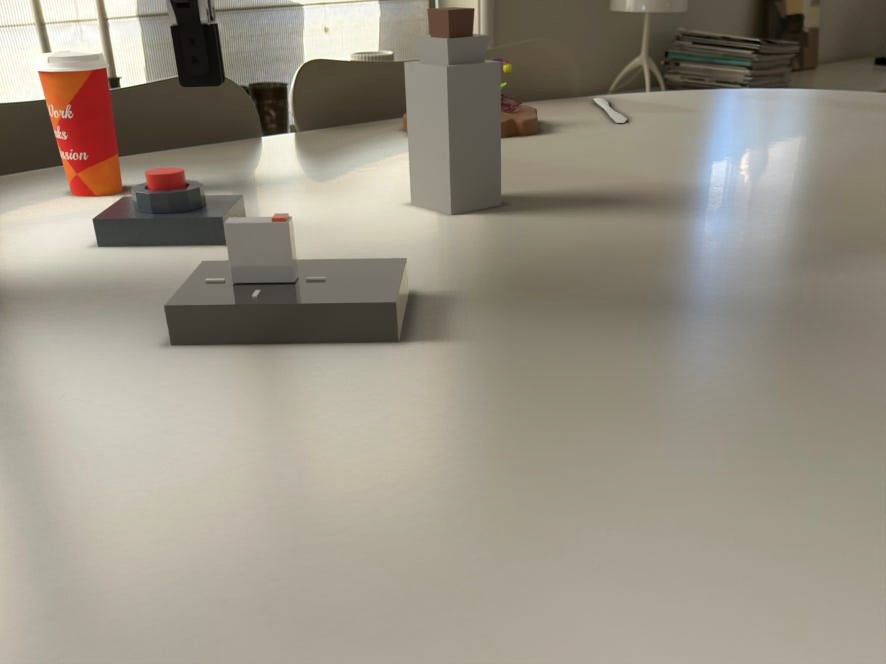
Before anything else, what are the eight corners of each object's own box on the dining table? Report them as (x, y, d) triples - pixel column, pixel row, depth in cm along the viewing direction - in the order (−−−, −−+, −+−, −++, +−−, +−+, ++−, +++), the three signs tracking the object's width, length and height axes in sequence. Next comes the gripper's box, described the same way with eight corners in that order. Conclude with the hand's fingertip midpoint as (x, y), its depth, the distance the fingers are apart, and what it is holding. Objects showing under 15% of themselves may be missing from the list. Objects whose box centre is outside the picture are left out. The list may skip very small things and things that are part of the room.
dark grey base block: (171, 348, 74) (163, 303, 73) (208, 299, 84) (201, 258, 83) (398, 345, 74) (395, 299, 72) (408, 296, 84) (406, 255, 82)
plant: (411, 120, 164) (407, 37, 158) (537, 118, 164) (538, 35, 157) (397, 141, 148) (392, 49, 141) (537, 140, 147) (539, 47, 141)
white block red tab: (231, 283, 77) (222, 219, 74) (236, 277, 78) (227, 213, 76) (295, 282, 77) (287, 218, 74) (298, 276, 78) (291, 212, 76)
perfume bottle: (411, 206, 112) (401, 9, 102) (460, 197, 116) (456, 5, 106) (451, 217, 108) (445, 11, 98) (501, 207, 111) (500, 7, 101)
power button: (143, 194, 99) (140, 174, 98) (153, 187, 102) (150, 167, 101) (182, 194, 99) (179, 173, 98) (191, 186, 102) (188, 166, 101)
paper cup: (57, 191, 122) (26, 52, 114) (124, 184, 125) (99, 48, 117) (68, 203, 116) (36, 58, 108) (139, 196, 119) (113, 54, 111)
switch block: (98, 249, 99) (87, 198, 96) (128, 224, 107) (119, 177, 104) (226, 247, 98) (219, 195, 96) (246, 223, 107) (240, 175, 104)
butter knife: (610, 97, 179) (592, 96, 179) (632, 122, 156) (612, 122, 156) (609, 100, 179) (592, 100, 179) (631, 127, 157) (611, 126, 157)
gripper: (127, -212, 76) (174, 76, 86) (65, -240, 64) (128, 99, 74) (232, -215, 76) (266, 73, 86) (190, -244, 64) (236, 96, 74)
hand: (203, 84), depth 80 cm, fingers closed
